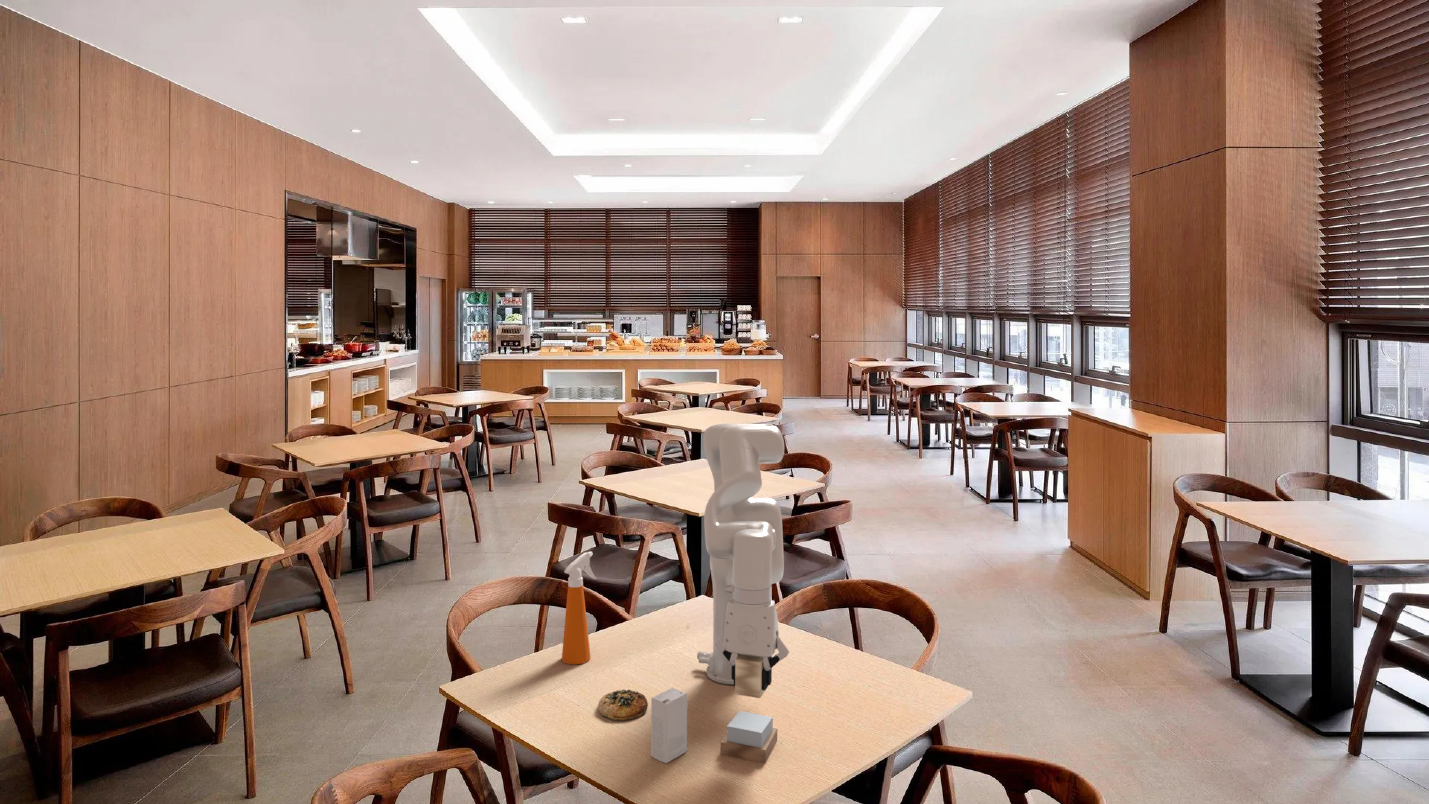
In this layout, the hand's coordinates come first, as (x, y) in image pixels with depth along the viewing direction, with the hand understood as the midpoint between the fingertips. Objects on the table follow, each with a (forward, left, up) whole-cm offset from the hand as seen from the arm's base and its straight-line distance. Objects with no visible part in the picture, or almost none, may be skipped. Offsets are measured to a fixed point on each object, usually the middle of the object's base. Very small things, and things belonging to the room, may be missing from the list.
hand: (751, 684), depth 159 cm
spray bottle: (-53, +29, -13) cm, 62 cm away
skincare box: (-14, -8, -13) cm, 21 cm away
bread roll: (-31, +7, -13) cm, 34 cm away
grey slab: (0, 0, -11) cm, 11 cm away
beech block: (0, 0, -1) cm, 1 cm away
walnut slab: (0, 0, -14) cm, 14 cm away
